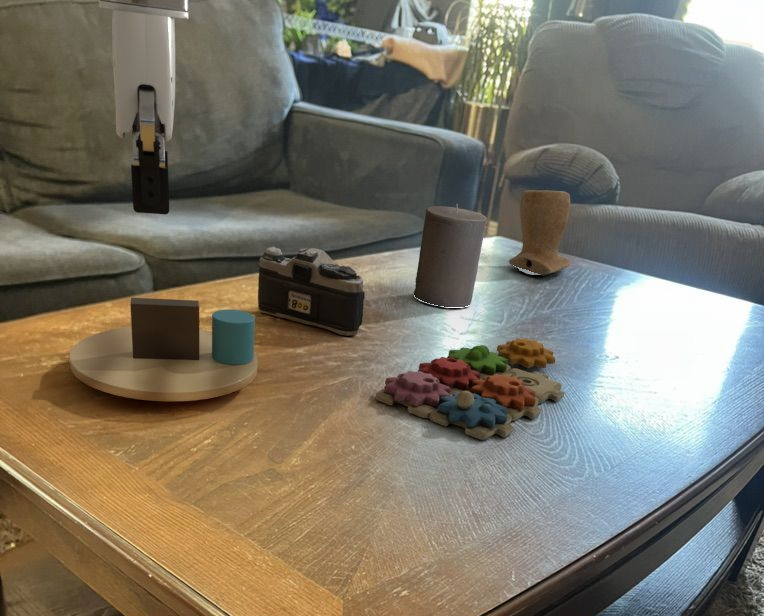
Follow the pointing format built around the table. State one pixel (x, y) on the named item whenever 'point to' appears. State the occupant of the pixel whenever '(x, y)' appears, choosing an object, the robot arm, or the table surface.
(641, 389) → the table surface
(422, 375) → the gear puzzle
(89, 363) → the tray
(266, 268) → the camera
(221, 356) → the teal cylinder block
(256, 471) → the table surface
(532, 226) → the brown flared block
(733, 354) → the table surface
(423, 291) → the pillar candle
